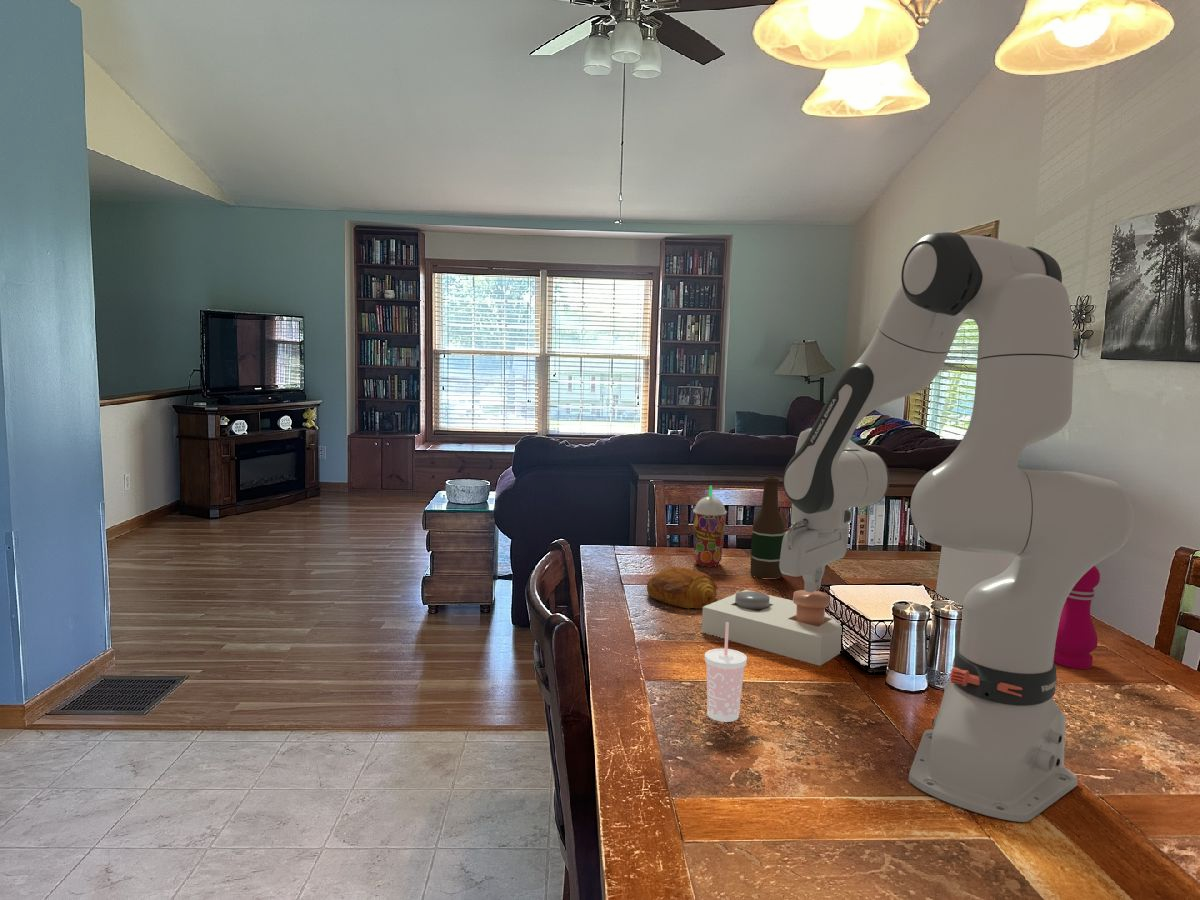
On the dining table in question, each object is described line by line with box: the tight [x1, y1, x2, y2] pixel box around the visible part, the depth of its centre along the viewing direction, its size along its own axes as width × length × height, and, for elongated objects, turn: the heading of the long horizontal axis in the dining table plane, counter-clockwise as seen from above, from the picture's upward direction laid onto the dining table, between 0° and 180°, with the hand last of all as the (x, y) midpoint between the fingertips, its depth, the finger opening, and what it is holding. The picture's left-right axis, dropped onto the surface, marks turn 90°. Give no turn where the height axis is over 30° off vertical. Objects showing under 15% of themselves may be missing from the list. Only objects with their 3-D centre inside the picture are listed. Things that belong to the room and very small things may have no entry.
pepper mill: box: [1053, 565, 1101, 670], centre depth 144 cm, size 7×7×20 cm
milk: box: [935, 546, 1015, 605], centre depth 166 cm, size 12×12×26 cm
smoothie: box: [692, 485, 728, 567], centre depth 205 cm, size 8×8×20 cm
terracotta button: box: [792, 589, 831, 627], centre depth 150 cm, size 6×6×6 cm
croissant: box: [646, 566, 719, 609], centre depth 176 cm, size 14×16×8 cm
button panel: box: [701, 589, 842, 667], centre depth 154 cm, size 16×24×5 cm, turn 50°
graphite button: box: [735, 591, 770, 611], centre depth 158 cm, size 6×6×6 cm
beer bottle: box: [750, 475, 786, 579], centre depth 196 cm, size 8×8×24 cm
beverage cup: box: [704, 622, 748, 723], centre depth 120 cm, size 6×6×14 cm
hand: (812, 590), depth 149 cm, fingers closed
